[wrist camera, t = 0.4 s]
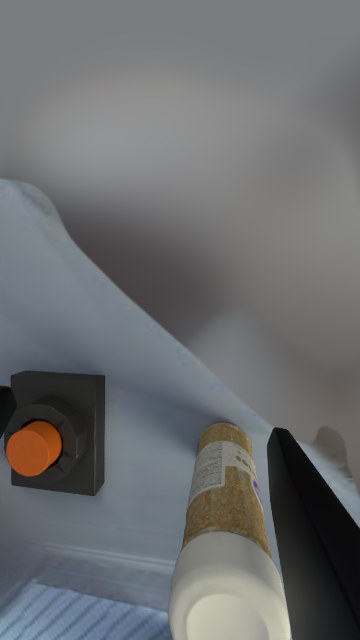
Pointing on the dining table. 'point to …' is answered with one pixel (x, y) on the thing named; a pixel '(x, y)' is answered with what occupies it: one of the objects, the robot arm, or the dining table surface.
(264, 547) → the sprinkles bottle
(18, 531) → the dining table surface
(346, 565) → the robot arm
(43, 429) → the button
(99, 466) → the control block
